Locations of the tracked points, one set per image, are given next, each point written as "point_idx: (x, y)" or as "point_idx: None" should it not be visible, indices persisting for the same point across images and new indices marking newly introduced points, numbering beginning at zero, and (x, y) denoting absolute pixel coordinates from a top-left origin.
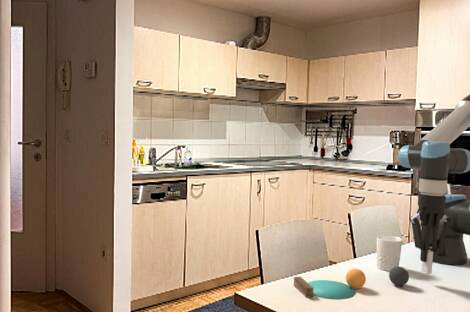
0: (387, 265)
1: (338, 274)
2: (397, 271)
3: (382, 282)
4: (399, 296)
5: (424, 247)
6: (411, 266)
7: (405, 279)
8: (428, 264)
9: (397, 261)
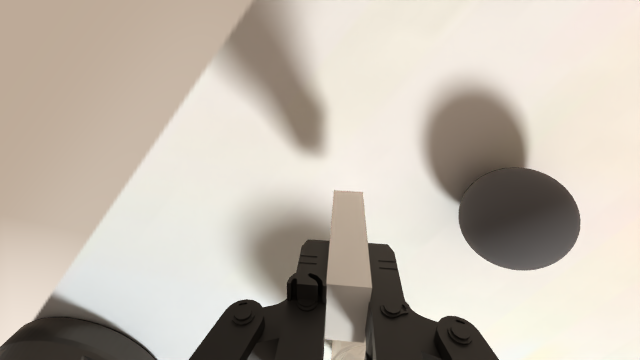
0: None
1: (625, 334)
2: (574, 218)
3: None
4: (633, 62)
5: (412, 337)
6: None
7: (522, 171)
8: (360, 222)
9: (362, 353)
